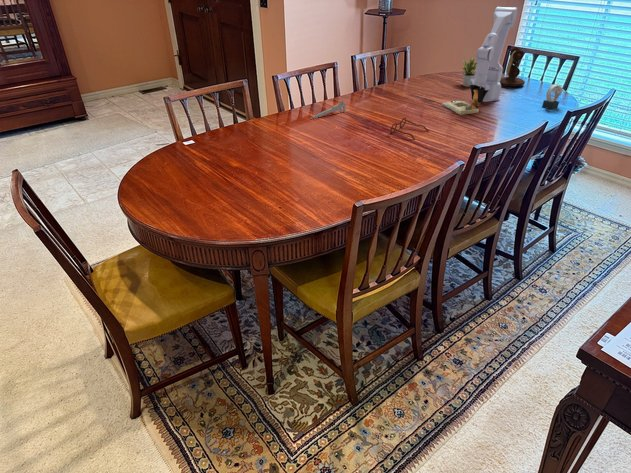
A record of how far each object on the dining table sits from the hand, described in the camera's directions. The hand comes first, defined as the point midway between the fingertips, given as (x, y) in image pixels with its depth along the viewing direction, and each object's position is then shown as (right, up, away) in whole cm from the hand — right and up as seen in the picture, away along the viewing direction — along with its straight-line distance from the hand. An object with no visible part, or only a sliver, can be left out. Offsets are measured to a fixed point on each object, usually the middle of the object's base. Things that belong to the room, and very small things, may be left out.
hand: (476, 100), depth 221 cm
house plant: (+8, +19, +34) cm, 40 cm away
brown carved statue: (+31, +19, +32) cm, 49 cm away
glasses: (-40, -23, -25) cm, 52 cm away
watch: (+36, -4, -3) cm, 36 cm away
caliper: (-76, -8, -1) cm, 77 cm away
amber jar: (0, -1, +1) cm, 2 cm away
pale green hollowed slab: (-9, -4, 0) cm, 10 cm away
